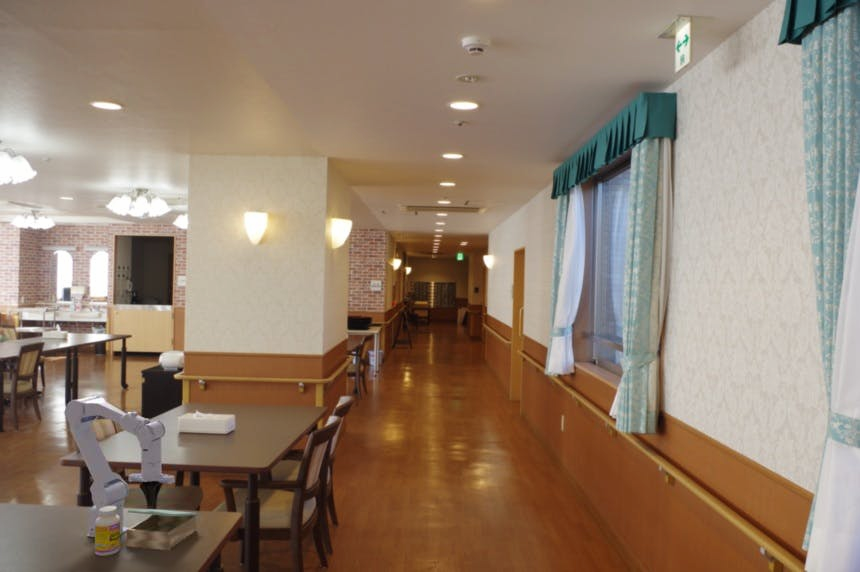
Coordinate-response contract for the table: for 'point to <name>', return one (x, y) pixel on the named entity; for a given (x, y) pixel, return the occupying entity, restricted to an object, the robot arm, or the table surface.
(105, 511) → the supplement bottle
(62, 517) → the table surface
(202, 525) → the table surface
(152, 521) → the box
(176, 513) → the lid
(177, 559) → the table surface
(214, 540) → the table surface
